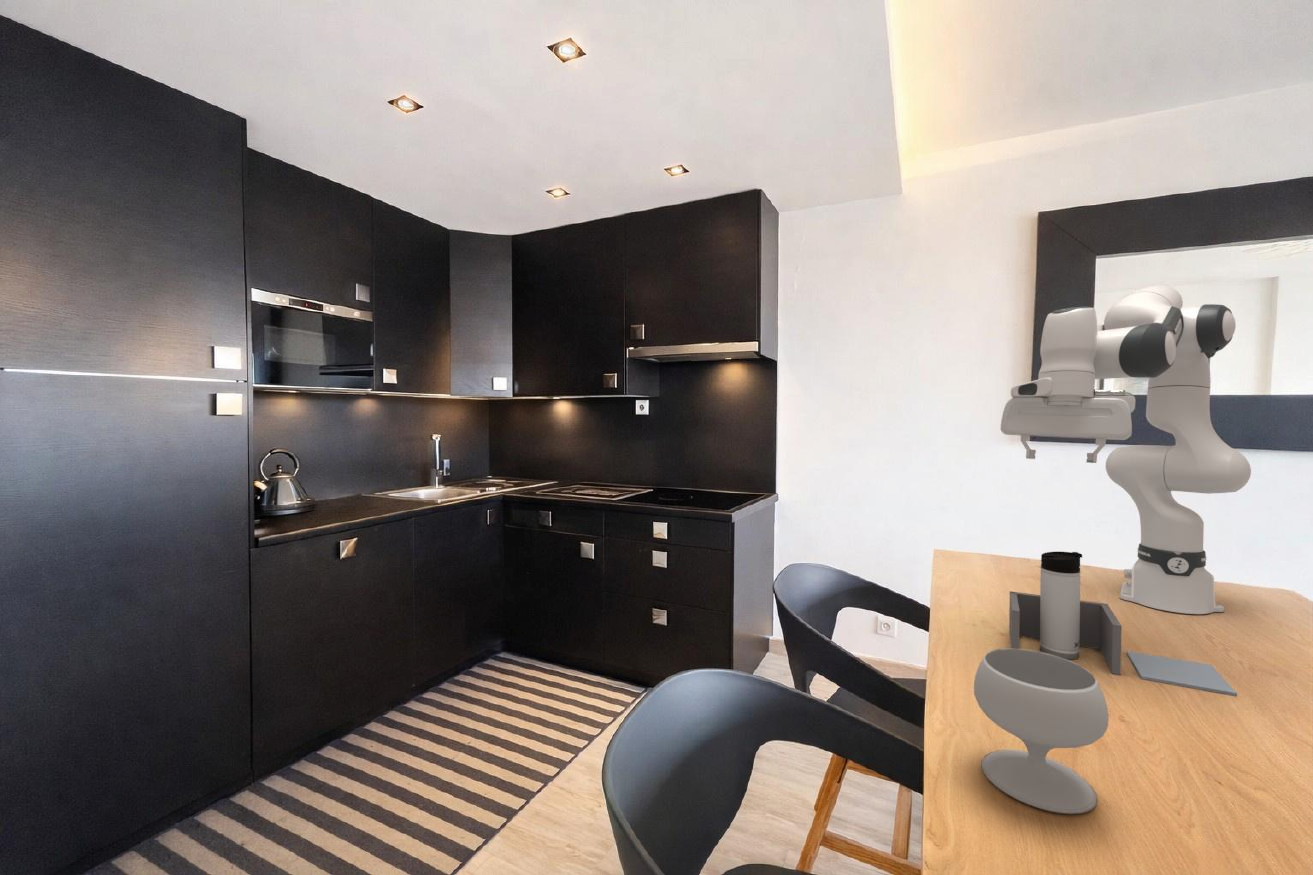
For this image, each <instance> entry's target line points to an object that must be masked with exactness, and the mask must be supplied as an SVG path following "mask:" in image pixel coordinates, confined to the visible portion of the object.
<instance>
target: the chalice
mask: <svg viewBox="0 0 1313 875" xmlns="http://www.w3.org/2000/svg"><path fill="white" fill-rule="evenodd" d="M973 695H974V698H975V700H976V701H977V702H976V703H977V704H978V707H979V709H980V710H981V711H982V712H983V713H984V715H986V717H987V718H988V719H990V721H992V722H993V723H994V724H996V725H997V726H998V727H999V728H1001V729H1002V730H1004V731H1006V732H1008V733H1009V734H1011V735H1012V736H1014V737H1016V738H1018V739H1019V740H1020V741H1021V742H1022V743H1023V745H1025V747H1026V749H1027V751H1024V750H1020V749H1019V750H1018V749H1017V750H1016V749H1000V750H995V751H991V752H990V753H988V754H986V755H985V756H984V757H983V758H982V760H981V765H980V766H981V770H982V772H983V773H984V775H985V776H986V779H988V780H989V782H990V783H991V784H993V786H995V787H996V788H998V789H999V790H1000V791H1002V792H1003V793H1005V795H1008V796H1010V797H1012V798H1014V799H1016V800H1017V801H1020V802H1021V803H1024V804H1026V805H1028V806H1032V807H1034V808H1038V809H1040V810H1043V811H1046V812H1047V811H1048V812H1052V813H1058V814H1065V815H1067V814H1069V815H1074V814H1077V815H1078V814H1084V813H1087V812H1090V811H1092V810H1093V809H1094V808H1095V807H1096V806H1097V804H1098V801H1099V800H1098V796H1097V792H1096V791H1095V789H1094V788H1093V786H1092V785H1091V784H1090V783H1089V782H1088V781H1087V779H1085V777H1083V776H1081V775H1080V774H1079V773H1077V772H1076V771H1075V770H1073V769H1072V768H1070V767H1068V766H1067V765H1064V764H1062V763H1060V762H1058V761H1056V760H1054V759H1052V758H1050V757H1047V754H1048V753H1049V752H1050V751H1051V750H1054V749H1077V748H1081V747H1086V746H1089V745H1092V744H1094V743H1095V742H1097V741H1099V740H1100V739H1101V738H1102V737H1104V735H1105V734H1106V732H1107V730H1108V728H1109V726H1108V725H1109V716H1110V715H1109V709H1108V705H1107V700H1106V697H1105V694H1104V692H1103V690H1102V688H1101V686H1100V684H1099V682H1098V680H1097V679H1096V676H1094V674H1093V673H1092V672H1091V671H1090V670H1088V668H1087V669H1086V668H1085V667H1083V666H1082V665H1080V664H1078V663H1076V662H1074V661H1072V660H1070V659H1064V658H1061V657H1058V656H1055V655H1051V654H1048V653H1044V652H1042V651H1039V650H1038V651H1037V650H1033V649H1028V648H1027V649H1026V648H1019V649H1016V648H1011V647H1010V648H997V649H994V650H990V651H989V652H987V653H986V654H985V655H984V657H982V659H981V661H980V663H979V664H978V667H977V669H976V673H975V676H974V682H973Z"/></svg>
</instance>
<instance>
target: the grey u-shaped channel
mask: <svg viewBox="0 0 1313 875" xmlns="http://www.w3.org/2000/svg"><path fill="white" fill-rule="evenodd" d="M1008 618H1009V620H1008V621H1009V623H1008V624H1009V628H1008V629H1009V630H1008V633H1009V642H1010V643H1009V644H1010V648H1016V649H1020V637H1023V636H1024V637H1025V638H1029V637H1030V639H1036V640H1037V639H1038V640H1040V594H1034V593H1026V592H1021V591H1020V592H1018V591H1011V590H1010V591H1009V617H1008ZM1122 627H1123V626H1122V625H1121V622H1120V621H1119V620H1118V618H1117V616H1116V614H1114V612H1113V610H1112V609H1111V607H1110V605H1109V604H1108V603H1104V602H1103V603H1102V602H1097V601H1095V602H1094V601H1089V600H1081V599H1080V643H1079V647H1086V648H1092V649H1096V650H1100V652H1101V653H1102V656H1103V658H1104V660H1105V662H1106V663H1107V666H1108V668H1109V670H1110V672H1111V674H1113V675H1117V676H1121V675H1122V674H1121V673H1122Z"/></svg>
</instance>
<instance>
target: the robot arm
mask: <svg viewBox="0 0 1313 875" xmlns="http://www.w3.org/2000/svg"><path fill="white" fill-rule="evenodd" d="M1183 302H1184V301H1183V297H1182V295H1181V293H1180V292H1179V291H1178V290H1176V289H1175V288H1173V287H1171V286H1169V285H1163V284H1155V285H1149V286H1145V287H1142V288H1139V289H1137V290H1134V291H1132V292H1130V293H1128V294H1126V295H1125V296H1124V297H1122V298H1120V299H1119V300H1118V301H1116V302H1115V303H1114V304H1113V305H1112V306H1111V307H1110V308H1109V309H1108V311H1107V312H1106V314H1105V316H1104V319H1103V327H1104V330H1098V319H1097V312H1096V309H1095V308H1094V307H1091V306H1085V305H1083V306H1077V307H1076V306H1075V307H1067V308H1066V307H1065V308H1060V309H1056V310H1053V311H1051V312H1050V313H1048V314H1047V315H1046V318H1045V321H1044V324H1043V329H1042V333H1041V341H1040V349H1039V351H1040V353H1039V354H1040V358H1041V366H1040V369H1039V372H1038V377H1037V378H1038V379H1035V380H1032V381H1028V382H1024V383H1020V384H1016V385H1014V386H1012V387H1011V388H1010V396H1011V398H1010V399H1008V400H1007V402H1006V403H1005V405H1004V408H1003V411H1002V416H1001V421H1000V431H1001V432H1002V434H1004V435H1007V436H1020V441H1021V442H1020V443H1022V445H1023V447H1024V449H1025V452H1026V453H1025V455H1026V456H1025V458H1026V460H1027V459H1028V460H1031V459H1032V460H1035V459H1036V453H1037V451H1036V449H1031V447H1030V446H1029V444H1028V443H1027V442H1030V440H1031V438H1030V437H1047V438H1048V437H1049V438H1051V437H1053V438H1067V439H1069V438H1072V439H1090V440H1091V439H1092V440H1093V439H1095V445H1096V446H1097V447H1096V449H1095V450H1094V451H1093V452H1087V453H1086V460H1085V461H1086V463H1087V464H1088V463H1090V464H1097V462H1098V454H1099V453H1100V452H1101V450H1102V449H1104V447H1105V446H1106V443H1107V442H1106V441H1107V440H1114V441H1115V440H1116V441H1125V440H1128V439H1129V438H1130V437H1132V432H1133V430H1132V429H1133V428H1132V427H1133V424H1132V423H1133V422H1132V413H1133V412H1134V411H1135V410H1136V401H1137V400H1136V397H1135V395H1133V394H1132V393H1131V392H1128V391H1126V390H1125V389H1115V390H1112V389H1111V390H1109V389H1095V383H1096V380H1109V379H1110V380H1111V379H1125V378H1142V379H1143V378H1148V380H1147V381H1148V382H1147V391H1146V408H1145V417H1146V420H1147V422H1148V423H1149V424H1150V425H1151V426H1153V427H1154V428H1157V429H1159V430H1161V431H1163V432H1166V433H1169V434H1172V435H1173V437H1174V440H1175V444H1174V445H1161V444H1160V445H1158V444H1157V445H1154V444H1151V445H1150V444H1137V445H1128V446H1127V445H1126V446H1121V447H1116V448H1115V449H1113V450H1112V451H1111V452H1110V453H1109V454H1108V456H1107V457H1106V460H1105V471H1106V474H1107V476H1108V477H1109V479H1110V480H1111V481H1112V482H1114V484H1116V485H1118V486H1119V487H1121V488H1122V489H1123V490H1124V491H1125V492H1126V493H1127V494H1128V495H1129V496H1130V498H1131V499H1132V501H1133V503H1135V506H1136V508H1137V511H1138V515H1139V522H1140V524H1139V525H1140V542H1139V544H1138V548H1137V558H1138V559H1137V560H1136V561H1135V563H1134V564H1133V565H1132V567H1131V568H1130V569H1129V568H1127V569H1123V572H1124V573H1123V574H1124V575H1123V577H1124V579H1128V580H1127V581H1124V582H1123V581H1122V582H1121V588H1120V593H1119V598H1120V600H1124V601H1127V602H1132V603H1136V604H1139V605H1142V606H1144V607H1149V608H1152V609H1157V610H1161V611H1167V612H1172V613H1178V614H1187V615H1188V614H1189V615H1207V614H1210V613H1222V612H1223V613H1224V612H1225V607H1224V606H1223V605H1222V604H1219V603H1217V602H1216V590H1215V589H1216V587H1215V577H1214V575H1213V574H1212V573H1211V572H1209V571H1208V570H1207V569H1206V568H1205V567H1206V565H1207V562H1206V561H1207V556H1206V555H1207V554H1206V551H1205V550H1204V532H1205V531H1204V529H1205V528H1204V527H1205V524H1204V521H1203V518H1202V517H1201V515H1200V514H1199V513H1197V512H1196V511H1194V510H1192V508H1189V507H1187V506H1185V505H1182V504H1180V503H1178V501H1176V500H1175V498H1174V496H1173V495H1172V492H1182V493H1183V492H1185V493H1195V494H1225V493H1237V492H1238V491H1239V490H1241V489H1243V488H1244V487H1245V486H1246V485H1247V483H1248V482H1249V480H1250V478H1251V474H1252V469H1251V464H1250V462H1249V460H1248V459H1247V458H1246V457H1245V455H1244V454H1242V453H1241V452H1240V451H1238V450H1237V449H1234V448H1233V447H1231V446H1230V445H1229V444H1227V443H1226V442H1225V441H1224V440H1222V439H1221V437H1220V436H1219V435H1218V434H1217V432H1216V430H1215V428H1214V426H1213V423H1212V419H1211V412H1210V411H1211V409H1210V404H1211V402H1210V400H1211V367H1210V363H1209V362H1210V361H1209V359H1211V358H1213V357H1214V356H1215V355H1216V354H1217V353H1218V352H1219V351H1221V350H1223V349H1224V348H1225V347H1226V346H1227V345H1229V343H1230V342H1231V341H1232V339H1233V336H1234V334H1235V331H1236V326H1237V325H1236V323H1237V322H1236V319H1235V317H1234V315H1233V312H1232V310H1231V309H1230V308H1229V307H1227V306H1226V305H1224V304H1216V303H1214V304H1211V303H1209V304H1202V305H1200V306H1197V305H1196V306H1183V305H1184V304H1183ZM1129 579H1130V580H1129Z"/></svg>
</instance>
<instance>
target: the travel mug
mask: <svg viewBox="0 0 1313 875" xmlns="http://www.w3.org/2000/svg"><path fill="white" fill-rule="evenodd" d="M1081 558H1082V559H1083V554H1082V553H1081V552H1077V551H1072V552H1069V551H1047V552H1043V553H1041V560H1040V586H1039V587H1040V590H1039V592H1040V594H1039V595H1040V639H1039V650H1040V652H1043V653H1048V654H1051V655H1055V656H1058V657H1061V658H1064V659H1067V660H1076V659H1078V658H1079V657H1080V646H1079V643H1080V600H1081V568H1080V567H1081Z"/></svg>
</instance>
